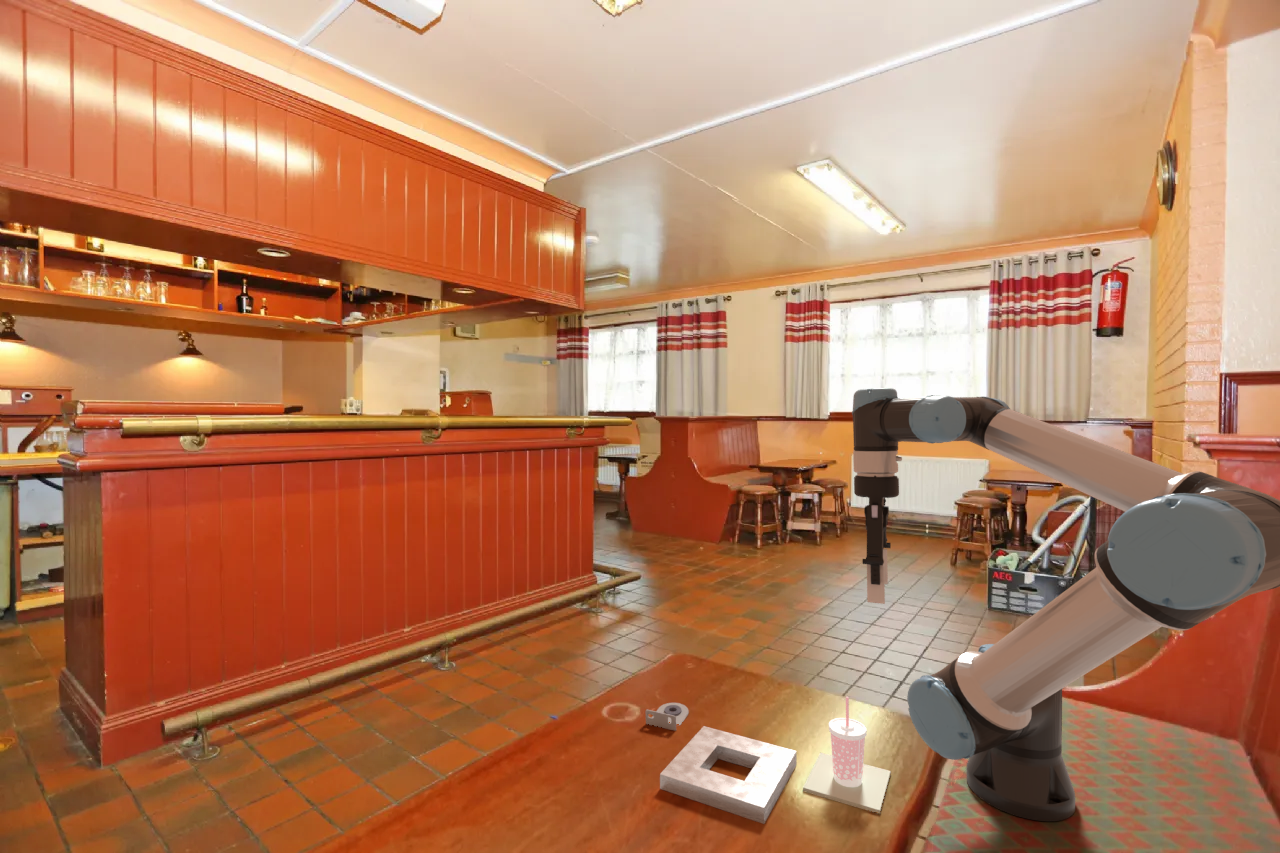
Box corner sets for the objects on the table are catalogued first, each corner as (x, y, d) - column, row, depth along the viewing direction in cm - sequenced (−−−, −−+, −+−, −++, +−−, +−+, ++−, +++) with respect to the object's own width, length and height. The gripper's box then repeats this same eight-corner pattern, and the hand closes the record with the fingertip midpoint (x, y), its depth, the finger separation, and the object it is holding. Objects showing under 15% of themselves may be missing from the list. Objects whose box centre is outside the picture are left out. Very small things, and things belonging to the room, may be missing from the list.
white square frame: (796, 764, 108) (796, 750, 108) (764, 824, 92) (764, 807, 92) (703, 738, 117) (703, 726, 117) (660, 788, 101) (659, 773, 101)
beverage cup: (849, 765, 106) (849, 686, 106) (875, 785, 101) (874, 701, 100) (821, 773, 104) (820, 692, 104) (845, 793, 98) (844, 708, 98)
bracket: (693, 710, 129) (692, 694, 129) (675, 733, 120) (675, 716, 120) (664, 704, 132) (664, 689, 131) (645, 726, 122) (645, 709, 122)
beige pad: (890, 774, 105) (890, 771, 105) (879, 814, 94) (879, 810, 94) (820, 755, 111) (820, 752, 111) (802, 791, 100) (802, 787, 100)
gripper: (897, 480, 96) (899, 614, 96) (899, 469, 119) (901, 577, 119) (847, 479, 99) (849, 609, 99) (859, 469, 122) (861, 574, 122)
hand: (878, 592), depth 109 cm, fingers open, 13 cm apart
